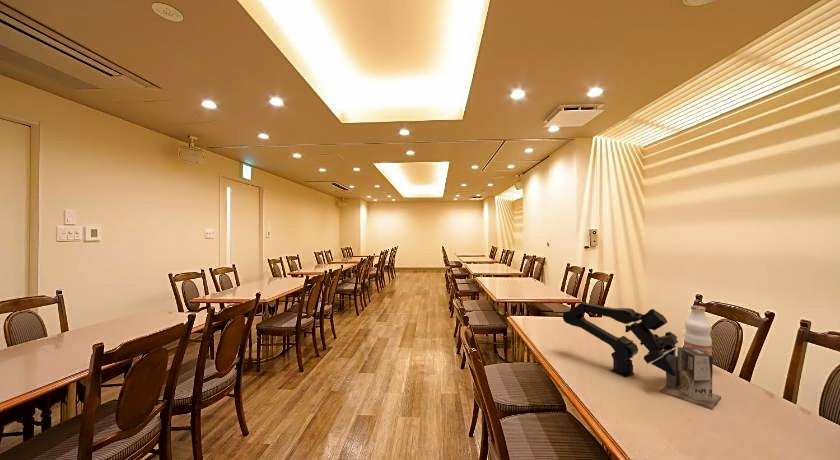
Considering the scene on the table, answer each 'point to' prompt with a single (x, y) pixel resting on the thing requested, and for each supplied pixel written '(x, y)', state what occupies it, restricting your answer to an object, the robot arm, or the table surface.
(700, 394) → the coffee box
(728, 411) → the table surface
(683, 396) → the pull board
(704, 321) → the fruit juice
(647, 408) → the table surface
